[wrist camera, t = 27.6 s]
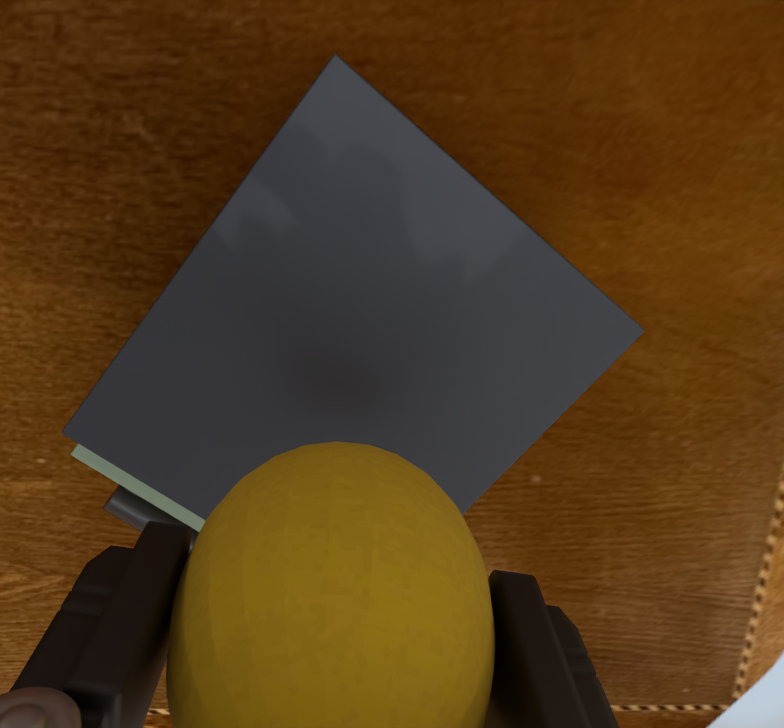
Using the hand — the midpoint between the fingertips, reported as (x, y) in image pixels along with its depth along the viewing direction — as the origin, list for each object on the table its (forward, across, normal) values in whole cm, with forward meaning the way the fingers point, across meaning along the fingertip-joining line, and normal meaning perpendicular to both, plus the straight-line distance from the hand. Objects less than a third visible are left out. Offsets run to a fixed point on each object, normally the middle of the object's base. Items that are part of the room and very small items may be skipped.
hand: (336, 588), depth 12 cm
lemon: (+4, 0, 0) cm, 4 cm away
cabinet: (+19, 0, 0) cm, 19 cm away
